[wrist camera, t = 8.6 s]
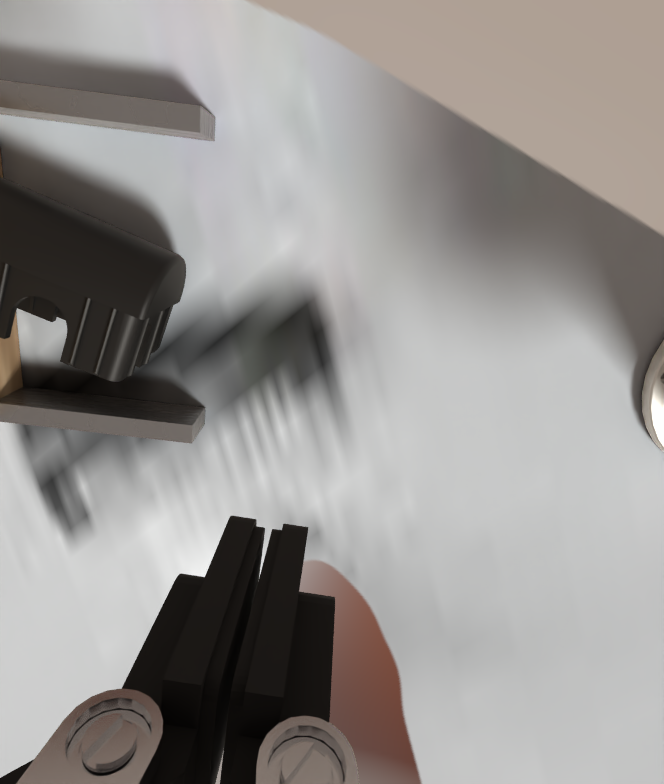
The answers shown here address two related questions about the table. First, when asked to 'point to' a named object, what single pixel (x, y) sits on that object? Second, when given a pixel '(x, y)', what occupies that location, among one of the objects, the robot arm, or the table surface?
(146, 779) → the robot arm
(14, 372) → the wall board
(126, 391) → the table surface
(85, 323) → the end cap
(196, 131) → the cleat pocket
